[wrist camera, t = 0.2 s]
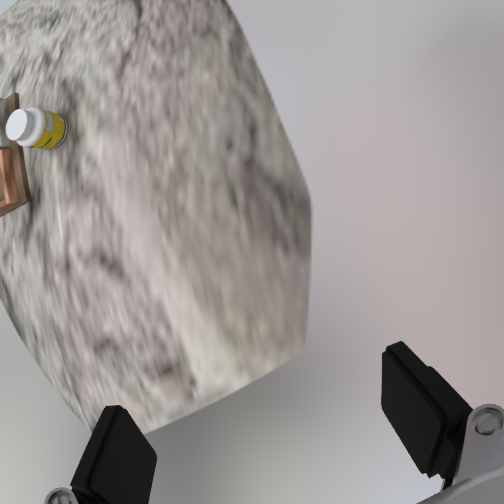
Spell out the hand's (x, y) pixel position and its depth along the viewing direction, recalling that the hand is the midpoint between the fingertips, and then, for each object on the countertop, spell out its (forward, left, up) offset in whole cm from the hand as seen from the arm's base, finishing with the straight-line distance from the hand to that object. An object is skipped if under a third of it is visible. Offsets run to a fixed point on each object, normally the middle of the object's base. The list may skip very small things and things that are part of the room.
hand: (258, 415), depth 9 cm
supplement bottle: (-23, -23, -31) cm, 45 cm away
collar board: (-24, -36, -31) cm, 53 cm away
